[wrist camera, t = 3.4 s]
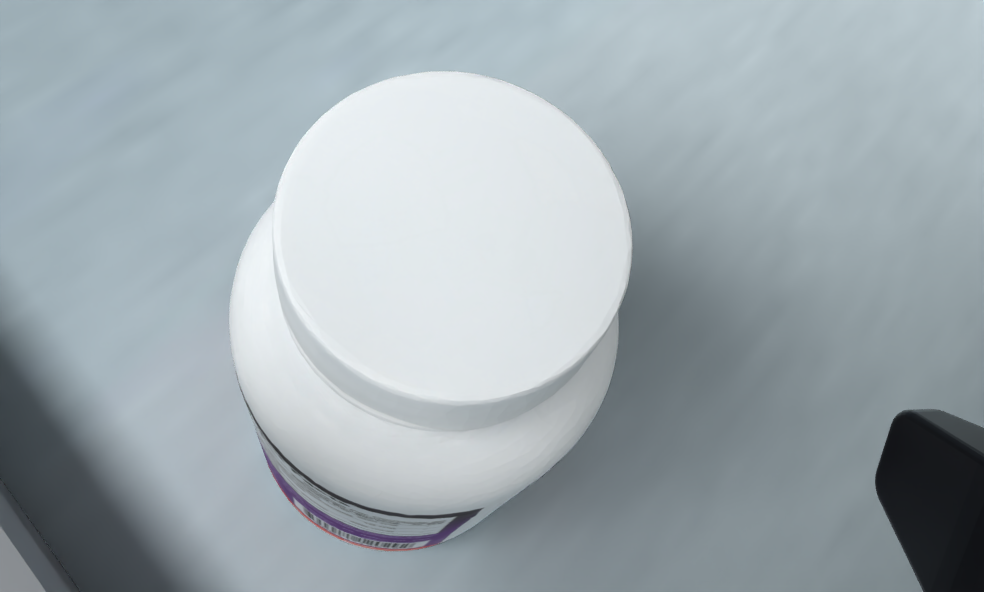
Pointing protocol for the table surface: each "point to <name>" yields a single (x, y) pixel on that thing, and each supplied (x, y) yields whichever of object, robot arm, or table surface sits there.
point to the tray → (26, 553)
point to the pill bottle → (429, 306)
